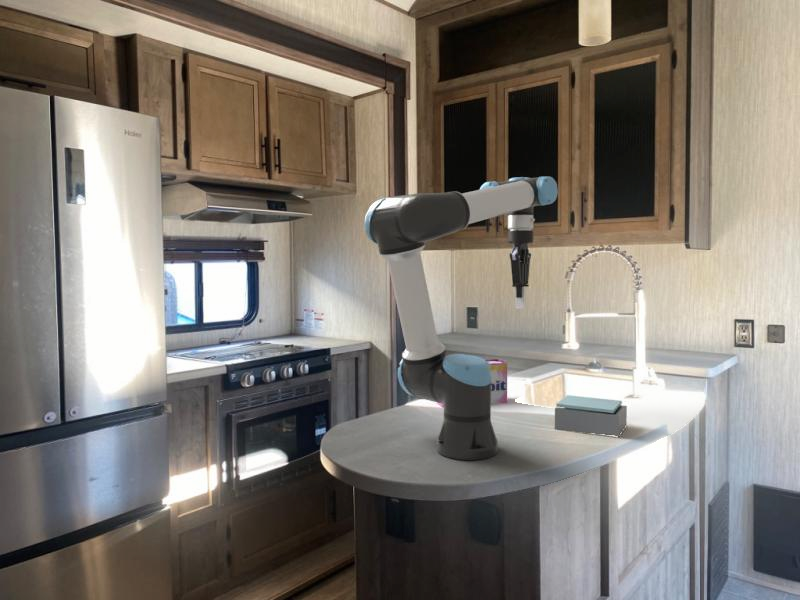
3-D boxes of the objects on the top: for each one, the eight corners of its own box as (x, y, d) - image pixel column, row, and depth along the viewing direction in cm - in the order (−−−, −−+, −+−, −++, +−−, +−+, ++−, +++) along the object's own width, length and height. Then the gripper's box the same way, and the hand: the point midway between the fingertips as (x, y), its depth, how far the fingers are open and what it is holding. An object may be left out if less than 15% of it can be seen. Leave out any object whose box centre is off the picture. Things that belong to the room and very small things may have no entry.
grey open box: (618, 437, 159) (618, 415, 159) (554, 429, 168) (554, 408, 167) (626, 426, 169) (626, 405, 169) (565, 419, 178) (565, 399, 177)
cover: (613, 413, 160) (613, 410, 159) (556, 406, 167) (556, 403, 167) (621, 403, 170) (621, 400, 170) (567, 397, 178) (567, 395, 177)
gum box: (438, 408, 193) (437, 366, 192) (431, 402, 201) (431, 362, 200) (508, 403, 199) (508, 362, 198) (498, 397, 206) (498, 358, 205)
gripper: (525, 229, 174) (525, 310, 175) (539, 230, 185) (539, 307, 186) (500, 229, 177) (501, 309, 179) (515, 231, 189) (515, 306, 190)
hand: (520, 308), depth 183 cm, fingers closed
